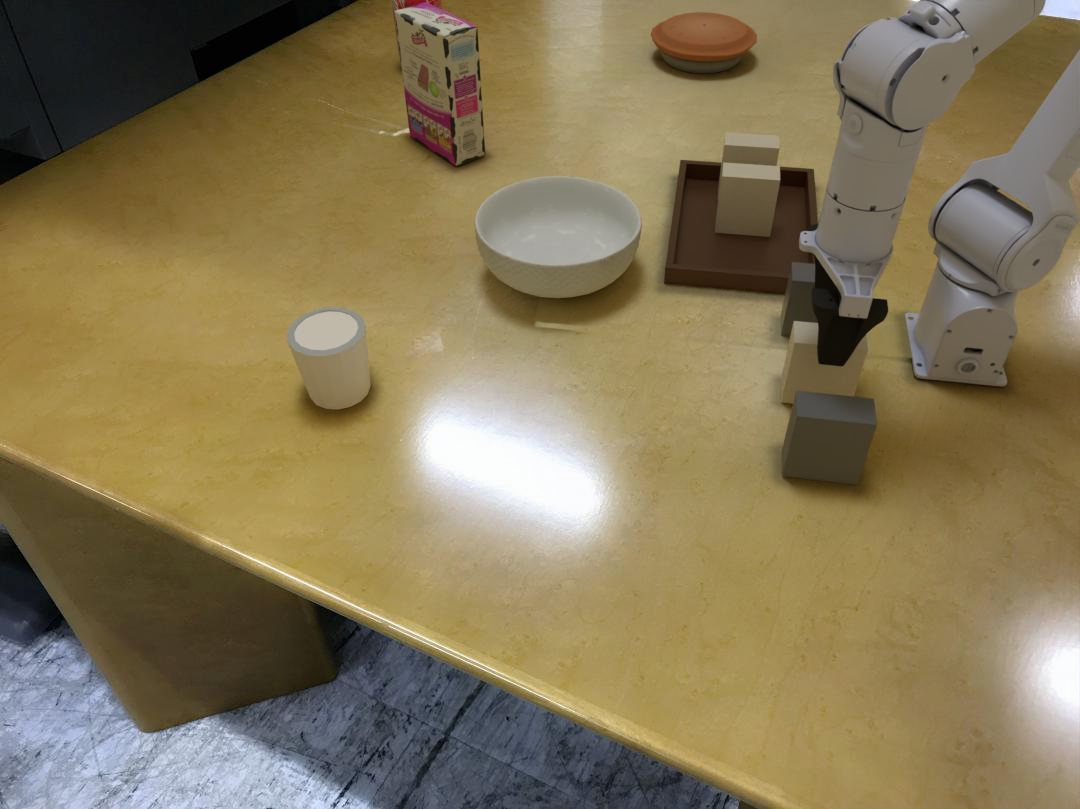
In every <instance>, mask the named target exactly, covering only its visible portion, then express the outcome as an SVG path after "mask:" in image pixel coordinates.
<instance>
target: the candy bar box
mask: <svg viewBox="0 0 1080 809" xmlns="http://www.w3.org/2000/svg"><path fill="white" fill-rule="evenodd" d="M394 12H395V18H396V26H397V34H398V42H399V51H400V57H399V60H400V59H401V61H400V66H401V74H402V81H403V90H404V98H405V108H406V115H407V122H408V123H407V124H408V131H409V137H410V138H412V139H413V140H415V141H416V142H418V143H419V144H421V145H423V146H424V147H426V148H427V149H429V150H430V151H432V152H434V153H435V154H437V155H438V156H440V157H441V158H443V159H445V160H446V161H448V162H449V163H450V164H452V165H454V166H456V167H458V166H462V165H463V164H466V163H469V162H472V161H475V160H478V159H480V158H483V157H485V156H486V144H485V127H484V126H485V125H484V112H483V95H482V78H481V64H480V63H481V61H480V46H479V31H478V28H479V26H478V25H477V24H476V25H475V24H473V23H471V22H469V21H467V20H465V19H463V18H460V17H458V16H456V15H454V14H452V13H450V12H449V11H446V10H444V9H443V8H442V9H439V8H437V7H435V6H433V5H431V4H429V3H427V2H425V3H421V4H417V5H413V6H410V7H406V8H403V9H399V10H396V11H394Z"/></svg>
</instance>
